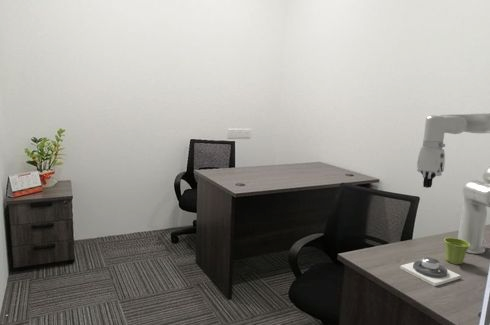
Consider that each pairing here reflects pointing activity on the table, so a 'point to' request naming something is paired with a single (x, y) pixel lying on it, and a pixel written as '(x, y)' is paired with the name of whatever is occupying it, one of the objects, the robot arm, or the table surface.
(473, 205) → the robot arm
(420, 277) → the mounted pipe fitting
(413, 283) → the table surface
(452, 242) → the plant pot
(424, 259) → the cap
